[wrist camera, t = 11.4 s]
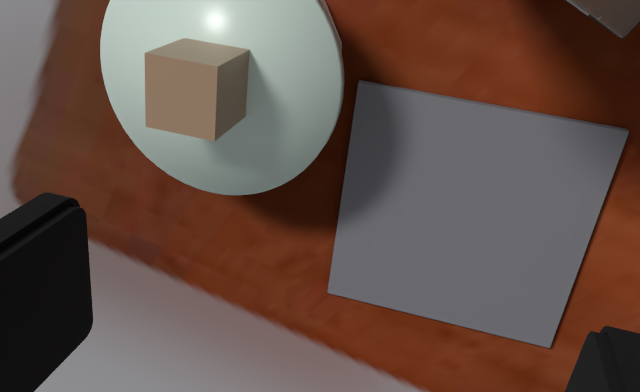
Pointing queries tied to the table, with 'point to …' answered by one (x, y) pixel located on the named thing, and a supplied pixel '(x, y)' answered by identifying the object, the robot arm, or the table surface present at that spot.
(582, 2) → the coffee box
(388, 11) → the table surface
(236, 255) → the table surface
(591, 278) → the table surface
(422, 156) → the mat
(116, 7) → the lid
